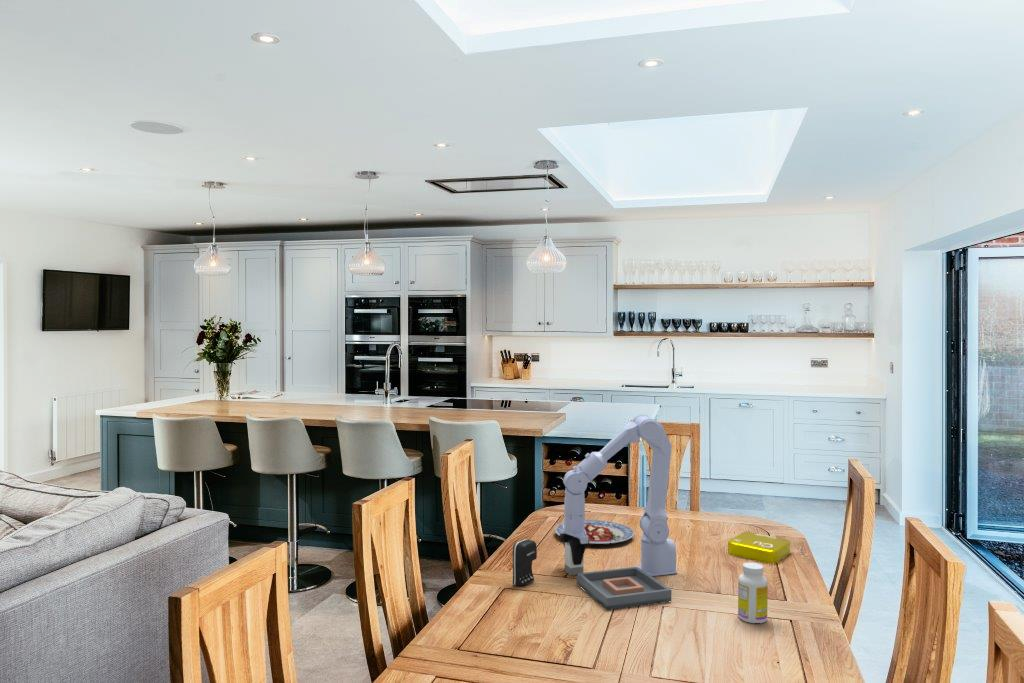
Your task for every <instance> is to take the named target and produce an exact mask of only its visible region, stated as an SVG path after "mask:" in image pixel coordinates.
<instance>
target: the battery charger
mask: <svg viewBox="0 0 1024 683" xmlns="http://www.w3.org/2000/svg"><path fill="white" fill-rule="evenodd" d="M537 556H538V551H537V543H536V541H534V540H532V539H528V538H523V539H521V540H519V541H517V542H515V543H514V544H513V546H512V585H514V586H517V585H518V587H525V586H527V585H529V584H531V583H533V582H534V581H535V577H534V573H533V567H532V566H533V561H536V560H537V559H538V558H537ZM532 581H533V582H532ZM530 582H531V583H530ZM528 583H529V584H528ZM526 584H527V585H526ZM524 585H525V586H524Z"/></svg>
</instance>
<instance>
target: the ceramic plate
mask: <svg viewBox="0 0 1024 683" xmlns="http://www.w3.org/2000/svg"><path fill="white" fill-rule="evenodd" d="M560 530H561V523H560V524H559V525H557V526H555V528H554V531H555V534H556V535H557V536H559V537H560V534H562V533H561V532H560ZM585 531H586V535H587V536H588V540H589V544H588V545H593V544H603V545H610V543H611V544H616V543H622V542H625V541H628V540H630V539H632V538H633V537H634V536H635V531H634V530H633V529H632V528H631V527H629V526H627V525H625V524H621V523H619V522H615V521H614V522H613V521H608V520H601V519H600V520H599V519H598V520H597V519H585Z"/></svg>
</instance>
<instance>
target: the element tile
mask: <svg viewBox="0 0 1024 683" xmlns="http://www.w3.org/2000/svg"><path fill="white" fill-rule="evenodd" d="M727 554H728V555H729V554H730V555H729V556H732V555H734V556H733V557H736V556H738V557H737V558H741V559H745V558H747V559H746V560H750V559H751V560H750V561H754V560H756V561H755V562H759V561H760V563H763V562H765V563H764V564H768V563H772V564H771V565H774V564H773V563H777V562H778V563H780V562H781V561H782V560H781V559H783V558H784V557H785V558H787V557H788V556H789V555H788V554H790V555H791V541H790V540H789V539H785V538H782V537H777V536H775V537H774V536H771V535H767V534H761V533H755V532H751V531H744V532H741V533H739V534H738V535H736V536H735V537H733V538H731V539H729V540H728V541H727ZM787 555H788V556H787ZM786 556H787V557H786ZM785 558H784V559H785ZM784 559H783V560H784ZM780 560H781V561H780ZM779 561H780V562H779ZM778 563H777V564H778Z"/></svg>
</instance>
